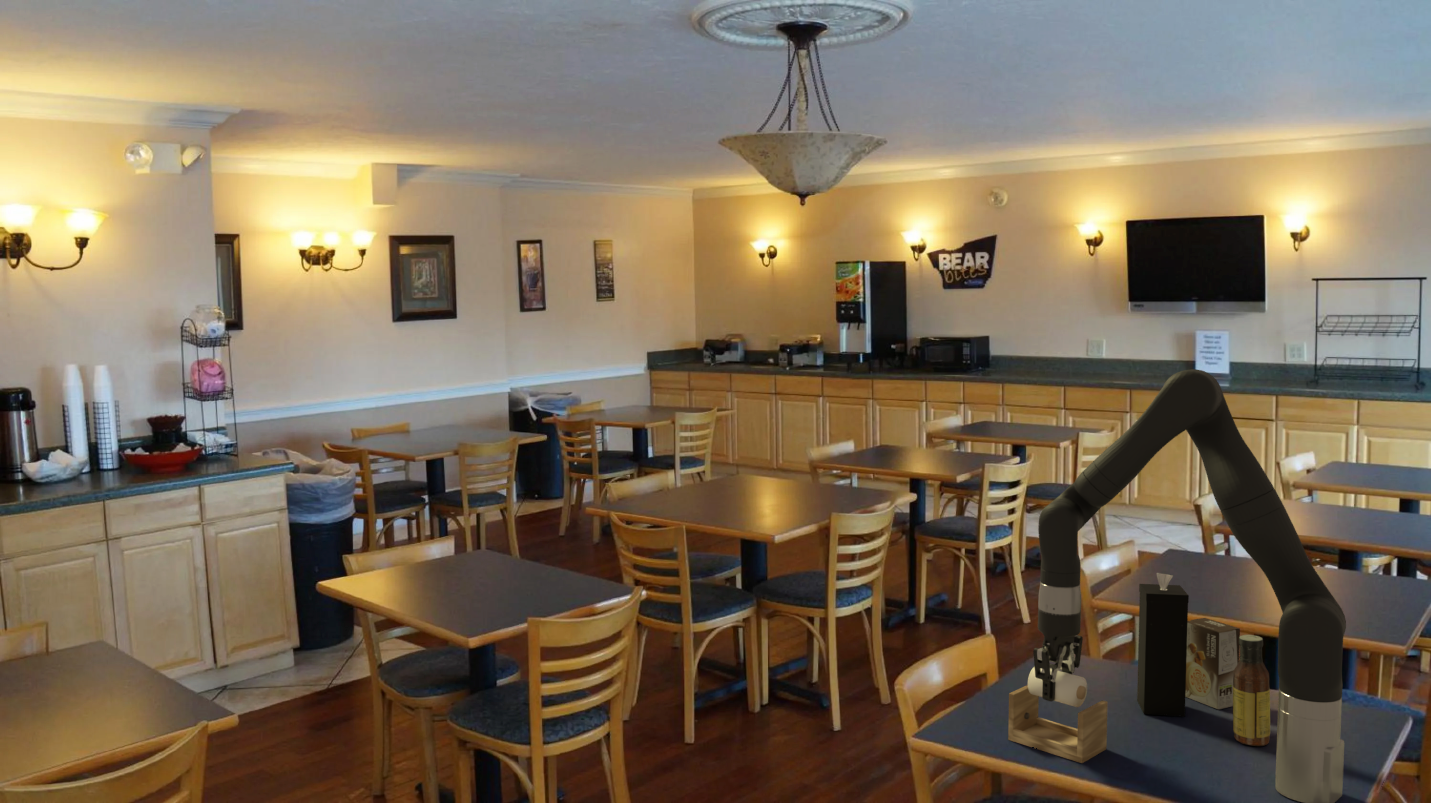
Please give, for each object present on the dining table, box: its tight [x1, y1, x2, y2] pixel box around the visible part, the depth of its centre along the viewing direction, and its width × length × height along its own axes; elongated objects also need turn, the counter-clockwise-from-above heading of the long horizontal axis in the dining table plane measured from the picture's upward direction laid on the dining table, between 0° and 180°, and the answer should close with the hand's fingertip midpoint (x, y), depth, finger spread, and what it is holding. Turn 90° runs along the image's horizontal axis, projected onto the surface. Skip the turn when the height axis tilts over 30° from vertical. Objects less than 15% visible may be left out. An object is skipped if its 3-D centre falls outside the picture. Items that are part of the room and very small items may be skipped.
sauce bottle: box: [1232, 634, 1271, 747], centre depth 204 cm, size 7×6×20 cm
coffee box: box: [1185, 617, 1241, 710], centre depth 225 cm, size 9×6×16 cm
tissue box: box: [1136, 572, 1190, 717], centre depth 220 cm, size 8×8×28 cm
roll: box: [1027, 666, 1088, 708], centre depth 203 cm, size 10×6×6 cm, turn 43°
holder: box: [1007, 684, 1109, 764], centre depth 203 cm, size 15×9×9 cm, turn 43°
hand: (1057, 695), depth 203 cm, fingers closed on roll, 5 cm apart
